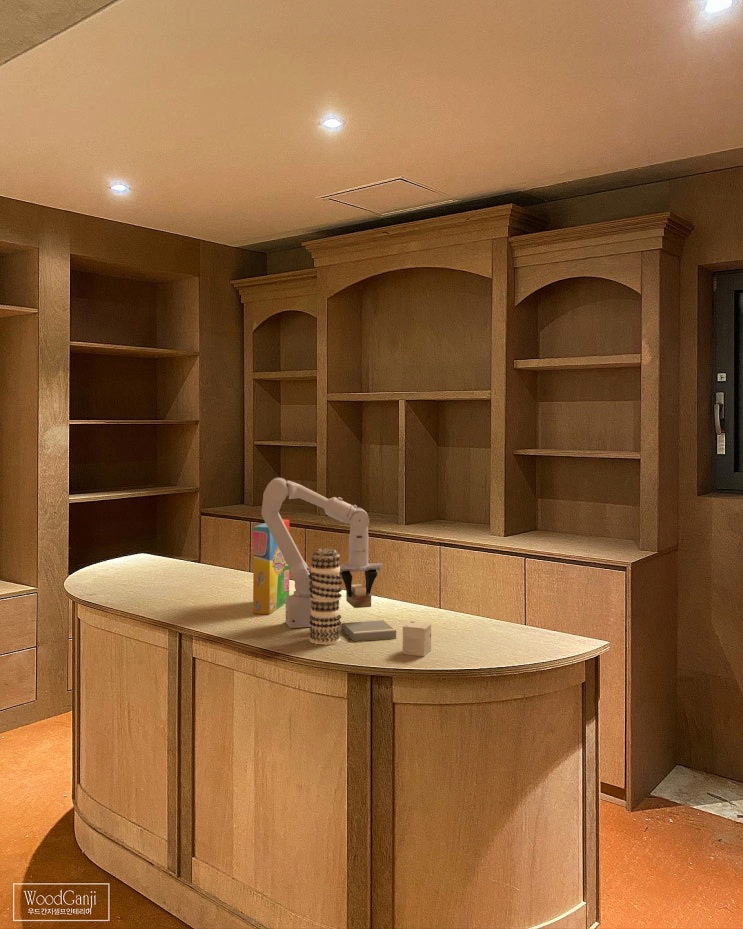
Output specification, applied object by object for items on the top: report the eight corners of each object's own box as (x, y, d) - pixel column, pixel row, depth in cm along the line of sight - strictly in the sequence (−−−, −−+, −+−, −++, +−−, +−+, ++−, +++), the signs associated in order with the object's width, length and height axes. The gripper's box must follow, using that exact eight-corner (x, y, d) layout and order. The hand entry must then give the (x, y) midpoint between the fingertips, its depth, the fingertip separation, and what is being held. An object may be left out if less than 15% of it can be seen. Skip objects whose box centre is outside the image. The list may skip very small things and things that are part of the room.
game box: (269, 615, 247) (269, 527, 246) (252, 614, 248) (252, 526, 247) (289, 600, 268) (289, 518, 266) (273, 599, 269) (273, 518, 267)
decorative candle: (301, 640, 220) (301, 549, 218) (326, 634, 226) (327, 546, 225) (323, 647, 213) (323, 554, 212) (348, 640, 220) (349, 550, 218)
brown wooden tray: (354, 608, 232) (354, 596, 232) (346, 600, 241) (346, 589, 241) (371, 606, 234) (371, 595, 234) (362, 599, 242) (362, 588, 242)
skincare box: (424, 657, 206) (424, 628, 205) (401, 654, 208) (402, 626, 208) (431, 650, 211) (431, 622, 211) (409, 648, 214) (409, 620, 213)
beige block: (355, 598, 234) (355, 588, 234) (350, 594, 239) (350, 584, 239) (365, 598, 235) (366, 587, 235) (361, 594, 240) (361, 584, 240)
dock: (354, 641, 219) (354, 632, 219) (343, 629, 231) (343, 622, 231) (396, 638, 223) (396, 629, 223) (383, 627, 234) (383, 619, 234)
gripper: (338, 553, 230) (338, 600, 231) (386, 551, 235) (386, 597, 236) (332, 549, 237) (332, 594, 238) (379, 547, 241) (378, 592, 242)
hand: (358, 595), depth 237 cm, fingers closed on brown wooden tray, 5 cm apart
